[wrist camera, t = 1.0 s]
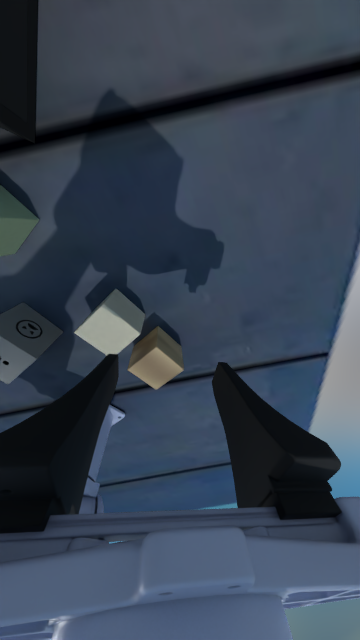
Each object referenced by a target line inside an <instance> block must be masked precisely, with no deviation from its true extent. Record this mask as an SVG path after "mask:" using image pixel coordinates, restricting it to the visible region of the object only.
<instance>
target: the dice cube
mask: <svg viewBox="0 0 360 640" xmlns="http://www.w3.org/2000/svg"><path fill="white" fill-rule="evenodd" d="M62 333H63V331H62V330H61V329H59V328H58V327H56V326H55V325H54V324H52V323H51V322H50V321H48V320H47V319H46V318H44V317H43V316H42V315H40V314H39V313H37V312H36V311H35V310H33V309H32V308H31V307H29V306H28V305H27V304H25V303H24V302H23V303H21V304H19V305H17V306H15V307H13V308H11V309H10V310H8V311H6V312H4V313H2V314H0V380H1V381H3V382H5V383H7V384H9V383H10V382H12V381H13V380H14V379H15V378H16V377H17V376H18V375H19V374H21V373H22V372H23V371H24V370H25V369H26V368H27V367H29V366H30V365H31V364H32V363H33V362H34V361H35V360H37V359H38V358H39V357H40V356H41V355H42V354H43V352H44V351H45V350H46V349H47V348H48V347H49V346H50V345H51V344H52V343H53V342H54V341H55V340H56V339H57V338H58V337H59V336H60V335H61V334H62Z"/></svg>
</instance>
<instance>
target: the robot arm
mask: <svg viewBox="0 0 360 640" xmlns="http://www.w3.org/2000/svg"><path fill="white" fill-rule="evenodd" d="M117 380H118V354H108V355H107V356H106V357H105V358H104V359H103V360H102V361H101V363H100V364H99V365H98V366H97V367H96V368H95V369H94V370H93V371H92V372H91V373H89V374H88V375H87V376H86V377H85V378H84V379H83V380H82V381H81V382H79V383H78V384H77V385H76V386H75V387H74V388H72V389H71V390H70V391H69V392H67V393H66V394H65V395H63V396H62V397H61V398H59V399H58V400H56V401H55V402H53V403H52V404H50V405H49V406H47V407H46V408H44V409H43V410H41V411H40V412H38V413H36V414H35V415H33V416H31V417H30V418H28V419H26V420H24V421H23V422H21V423H19V424H17V425H15V426H13V427H12V428H10V429H8V430H6V431H4V432H2V433H0V640H50V639H51V640H293V637H292V634H291V631H290V627H289V624H288V621H287V618H286V614H285V611H284V609H290V608H296V607H302V606H309V605H316V604H322V603H329V602H336V601H342V600H349V599H356V598H360V497H340V498H336V499H334V498H333V497H332V495H331V493H330V491H332V488H331V486H330V485H329V483H328V482H327V481H328V480H329V479H330V478H331V477H332V476H333V475H334V474H335V473H337V471H338V470H339V469H340V467H341V462H340V460H339V459H338V457H337V456H336V455H335V453H334V452H333V451H332V449H331V448H330V447H329V445H328V444H327V443H326V442H324V441H322V440H320V439H319V438H317V437H315V436H314V435H312V434H310V433H309V432H307V431H305V430H304V429H302V428H301V427H299V426H297V425H296V424H294V423H293V422H291V421H290V420H288V419H287V418H286V417H284V416H283V415H281V414H280V413H279V412H277V411H276V410H275V409H274V408H272V407H271V406H270V405H269V404H267V403H266V402H265V401H264V400H263V399H261V398H260V397H259V396H258V395H257V394H256V393H255V392H254V391H253V390H252V389H251V388H250V387H249V386H248V385H247V384H246V383H245V382H244V381H243V380H242V379H241V378H240V377H239V376H238V375H237V374H236V373H235V371H234V370H233V369H232V368H231V367H230V366H229V365H228V364H227V363H225V362H218V365H217V368H216V371H215V374H214V377H213V380H212V386H213V392H214V396H215V400H216V403H217V406H218V410H219V413H220V416H221V419H222V423H223V426H224V430H225V434H226V439H227V443H228V448H229V454H230V459H231V465H232V471H233V477H234V483H235V491H236V498H237V505H238V508H231V509H203V510H177V511H151V512H124V513H104V507H103V502H102V497H101V495H99V494H97V493H98V489H99V485H100V484H99V483H95V482H96V478H97V475H98V471H99V467H100V464H101V460H102V457H103V453H104V449H105V446H106V442H107V439H108V435H109V431H110V428H111V426H112V425H114V424H115V423H116V422H118V421H119V420H121V419H122V418H124V417H125V413H124V412H122V411H120V410H119V409H117V408H115V407H113V406H111V405H110V402H111V400H112V397H113V394H114V392H115V388H116V384H117ZM114 541H123V542H118V543H112V544H109V542H114Z"/></svg>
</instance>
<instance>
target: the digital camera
mask: <svg viewBox="0 0 360 640" xmlns="http://www.w3.org/2000/svg"><path fill="white" fill-rule="evenodd" d="M37 9H38V0H0V127H1V128H3V129H5V130H7V131H9V132H11V133H14V134H16V135H18V136H20V137H22V138H24V139H26V140H29V141H31V142H33V143H35V109H36V59H37Z"/></svg>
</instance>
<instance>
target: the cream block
mask: <svg viewBox="0 0 360 640" xmlns="http://www.w3.org/2000/svg"><path fill="white" fill-rule="evenodd" d="M144 318H145V314H144V313H143V312H142V311H141V310H140V309H139V308H138V307H136V306H135V305H134V304H133V303H132V302H131V301H130V300H129V299H128V298H126V297H125V296H124V295H123V294H122V293H121V292H120V291H119V290H117V289H115V290H114V291H113V292H112V293H111V294H110V295H109V296H108V297H107V298H106V299H105V300H104V301H103V302H102V303H101V304H100V305H99V306H98V307H97V308H96V309H95V310H94V311H93V312H92V313H91V314H90V315H89V316H88V317H87V318H86V319H85V321H84V322H83V323H82V324H81V325H80V326H79V327H78V329H77V330H76V331H75V332H74V333H75V334H77V335H78V336H80V337H81V338H82V339H84V340H85V341H87V342H88V343H90V344H91V345H93V346H94V347H95V348H97V349H98V350H100V351H101V352H103V353H104V354H106V355H108V354H118V353H119V352H120V351H121V350H122V349H124V348H125V347H126V346H127V345H128V344H130V343H131V342H132V341H133V340H134V339H135V338H137V337H138V336H139V335H140V334H141V331H142V326H143V322H144Z"/></svg>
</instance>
